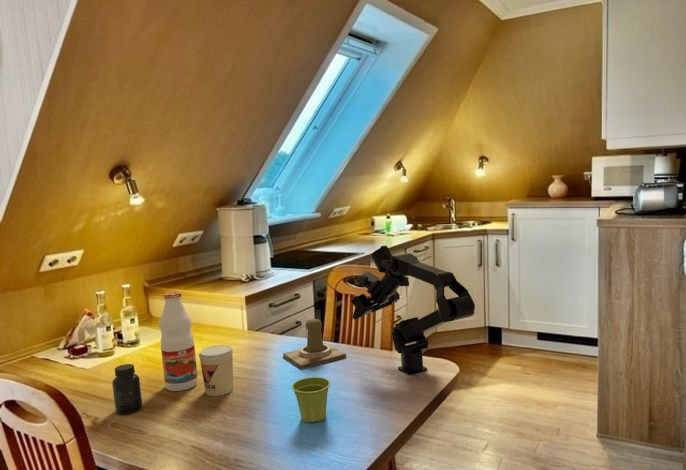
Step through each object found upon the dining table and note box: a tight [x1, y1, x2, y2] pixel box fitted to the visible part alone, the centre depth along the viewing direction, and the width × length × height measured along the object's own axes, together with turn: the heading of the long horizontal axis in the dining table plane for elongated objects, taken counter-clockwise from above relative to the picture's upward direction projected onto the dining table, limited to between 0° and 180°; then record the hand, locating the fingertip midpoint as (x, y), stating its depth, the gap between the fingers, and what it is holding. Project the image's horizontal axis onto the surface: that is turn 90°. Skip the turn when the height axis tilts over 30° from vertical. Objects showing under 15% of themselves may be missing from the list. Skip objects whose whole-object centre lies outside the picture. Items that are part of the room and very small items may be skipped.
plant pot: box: [291, 376, 331, 424], centre depth 136 cm, size 9×9×9 cm
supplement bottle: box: [111, 363, 143, 416], centre depth 147 cm, size 7×7×12 cm
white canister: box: [198, 344, 234, 397], centre depth 157 cm, size 9×9×12 cm
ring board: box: [282, 342, 347, 370], centre depth 180 cm, size 14×16×2 cm
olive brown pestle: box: [305, 318, 325, 353], centre depth 180 cm, size 6×6×11 cm
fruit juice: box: [158, 290, 199, 392], centre depth 161 cm, size 9×9×28 cm
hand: (362, 314), depth 176 cm, fingers open, 9 cm apart
